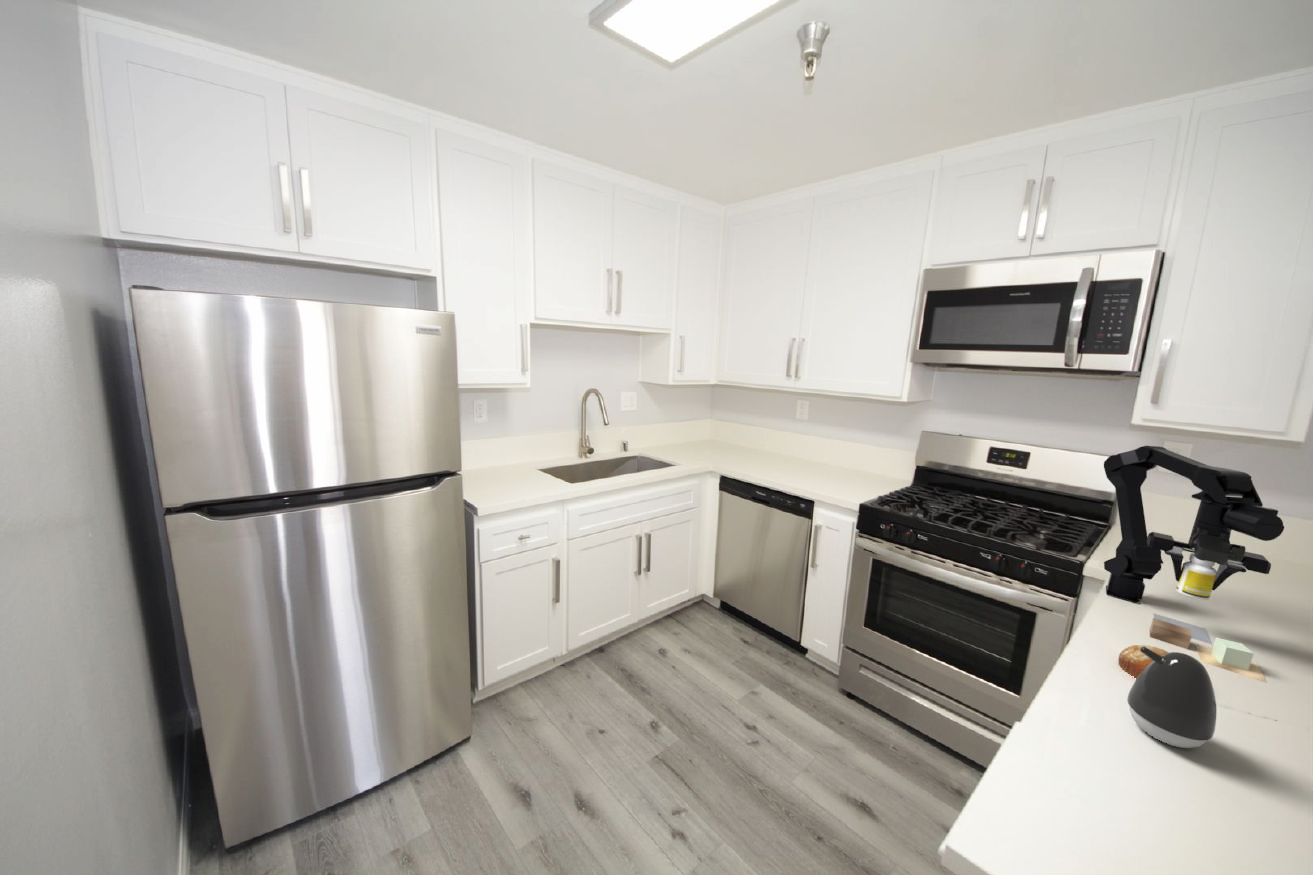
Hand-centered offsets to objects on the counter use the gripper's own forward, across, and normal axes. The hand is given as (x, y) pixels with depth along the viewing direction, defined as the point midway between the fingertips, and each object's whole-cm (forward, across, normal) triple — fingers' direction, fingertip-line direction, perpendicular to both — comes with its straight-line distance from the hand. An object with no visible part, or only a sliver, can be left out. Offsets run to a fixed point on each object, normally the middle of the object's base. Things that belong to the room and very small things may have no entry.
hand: (1194, 585), depth 114 cm
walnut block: (+12, -3, -10) cm, 16 cm away
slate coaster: (+12, 0, 0) cm, 12 cm away
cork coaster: (+12, +6, -12) cm, 18 cm away
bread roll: (+12, -7, -31) cm, 34 cm away
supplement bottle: (+3, 0, 0) cm, 3 cm away
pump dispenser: (+12, -8, -52) cm, 54 cm away
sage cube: (+11, +6, -12) cm, 18 cm away
